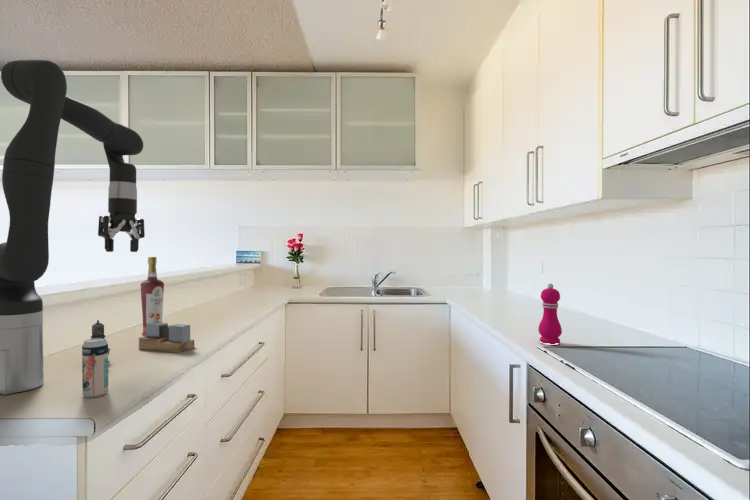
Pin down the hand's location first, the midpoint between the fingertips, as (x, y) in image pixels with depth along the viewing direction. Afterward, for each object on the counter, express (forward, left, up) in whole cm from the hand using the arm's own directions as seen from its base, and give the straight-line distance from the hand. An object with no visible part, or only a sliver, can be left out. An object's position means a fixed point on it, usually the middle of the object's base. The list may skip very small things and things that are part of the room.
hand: (122, 251), depth 134 cm
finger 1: (+8, -5, -28) cm, 29 cm away
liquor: (+19, +8, -31) cm, 37 cm away
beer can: (-31, -26, -31) cm, 51 cm away
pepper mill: (+54, -123, -31) cm, 138 cm away
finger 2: (+8, -14, -28) cm, 32 cm away
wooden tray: (+8, -9, -30) cm, 33 cm away
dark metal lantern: (-12, -4, -31) cm, 33 cm away
